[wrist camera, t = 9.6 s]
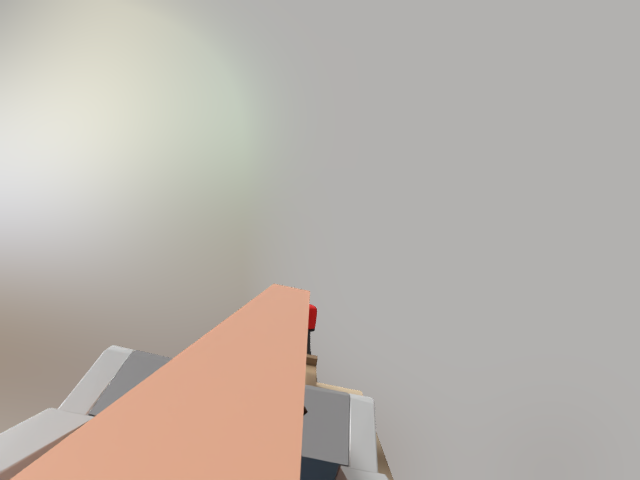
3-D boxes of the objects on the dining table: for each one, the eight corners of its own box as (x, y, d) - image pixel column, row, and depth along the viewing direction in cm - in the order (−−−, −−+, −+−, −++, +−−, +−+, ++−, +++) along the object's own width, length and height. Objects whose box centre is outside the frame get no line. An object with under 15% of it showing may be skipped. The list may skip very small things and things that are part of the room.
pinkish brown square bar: (231, 867, 3) (296, 549, 3) (-80, 810, 3) (-5, 490, 3) (302, 327, 27) (309, 291, 27) (266, 320, 27) (273, 283, 27)
